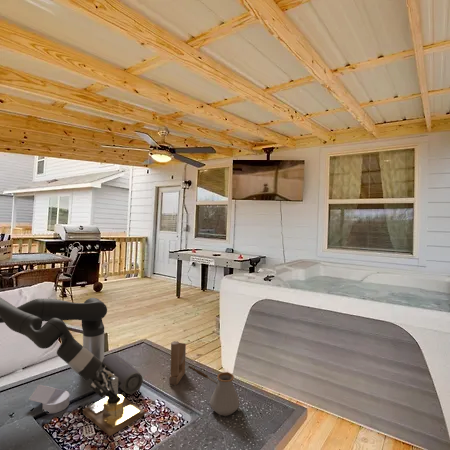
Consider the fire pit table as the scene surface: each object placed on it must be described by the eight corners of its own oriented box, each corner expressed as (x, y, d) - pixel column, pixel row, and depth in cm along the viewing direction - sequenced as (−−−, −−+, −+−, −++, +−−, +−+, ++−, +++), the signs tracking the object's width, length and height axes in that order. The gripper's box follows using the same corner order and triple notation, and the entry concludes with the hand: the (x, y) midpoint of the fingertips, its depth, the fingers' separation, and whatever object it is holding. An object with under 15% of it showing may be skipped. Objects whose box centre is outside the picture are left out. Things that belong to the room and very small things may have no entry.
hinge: (87, 408, 115) (87, 397, 114) (114, 394, 123) (114, 384, 123) (113, 428, 104) (113, 417, 104) (140, 412, 113) (140, 402, 113)
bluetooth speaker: (144, 391, 128) (144, 368, 128) (122, 401, 122) (123, 376, 121) (119, 370, 145) (119, 349, 144) (99, 377, 138) (99, 355, 138)
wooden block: (185, 373, 144) (186, 335, 143) (176, 385, 133) (177, 345, 133) (177, 372, 145) (178, 334, 144) (168, 384, 134) (169, 344, 133)
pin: (107, 410, 114) (107, 378, 113) (114, 406, 116) (115, 375, 115) (111, 413, 112) (112, 381, 111) (119, 409, 114) (119, 378, 114)
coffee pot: (241, 402, 123) (243, 365, 122) (236, 421, 112) (237, 381, 111) (191, 393, 128) (192, 358, 127) (181, 411, 117) (181, 372, 116)
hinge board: (82, 413, 114) (82, 409, 114) (116, 396, 125) (116, 392, 125) (109, 436, 103) (109, 431, 103) (144, 415, 114) (144, 411, 114)
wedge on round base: (28, 408, 116) (55, 415, 112) (28, 390, 116) (55, 397, 112) (48, 394, 125) (74, 401, 121) (48, 378, 124) (74, 384, 121)
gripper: (82, 361, 118) (113, 388, 120) (70, 381, 104) (105, 411, 106) (97, 347, 118) (127, 374, 121) (87, 365, 104) (122, 395, 107)
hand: (117, 391), depth 114 cm, fingers open, 8 cm apart
